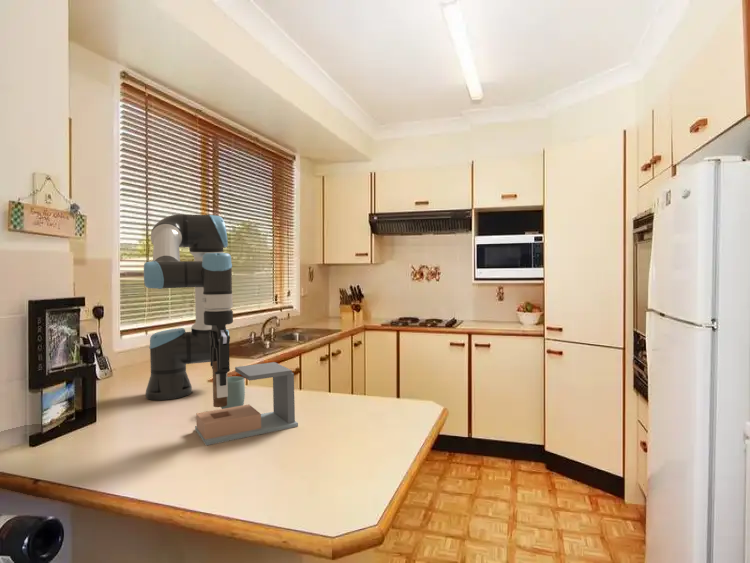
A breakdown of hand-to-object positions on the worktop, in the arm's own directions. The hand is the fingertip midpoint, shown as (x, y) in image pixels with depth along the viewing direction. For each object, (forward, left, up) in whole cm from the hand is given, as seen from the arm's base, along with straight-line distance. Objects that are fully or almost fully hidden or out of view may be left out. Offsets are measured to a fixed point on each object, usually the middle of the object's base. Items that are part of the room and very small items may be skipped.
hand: (220, 395), depth 127 cm
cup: (-19, +8, -11) cm, 23 cm away
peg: (0, 0, -3) cm, 3 cm away
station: (0, +7, -10) cm, 13 cm away
